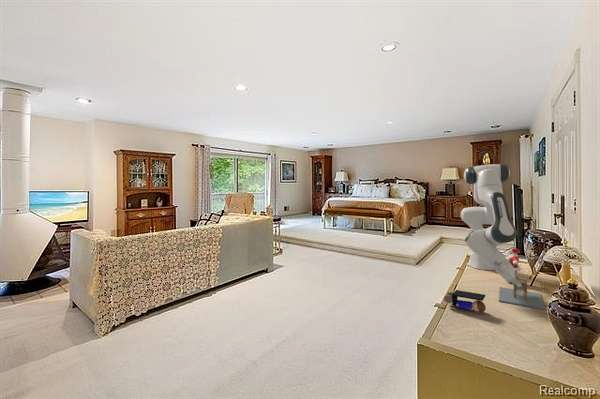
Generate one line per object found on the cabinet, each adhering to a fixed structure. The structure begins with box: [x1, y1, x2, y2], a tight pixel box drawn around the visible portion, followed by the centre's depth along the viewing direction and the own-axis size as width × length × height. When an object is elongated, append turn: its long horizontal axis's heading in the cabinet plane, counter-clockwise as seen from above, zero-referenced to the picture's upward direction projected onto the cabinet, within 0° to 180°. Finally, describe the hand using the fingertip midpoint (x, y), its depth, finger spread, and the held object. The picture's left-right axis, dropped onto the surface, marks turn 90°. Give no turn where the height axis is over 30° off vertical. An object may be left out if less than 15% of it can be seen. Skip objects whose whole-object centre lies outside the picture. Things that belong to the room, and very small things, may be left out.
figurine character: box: [443, 289, 486, 314], centre depth 122 cm, size 7×8×15 cm
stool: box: [513, 276, 529, 300], centre depth 132 cm, size 5×5×8 cm
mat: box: [498, 286, 546, 311], centre depth 132 cm, size 20×16×1 cm
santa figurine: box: [506, 247, 521, 285], centre depth 152 cm, size 25×6×19 cm, turn 144°
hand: (520, 283), depth 132 cm, fingers open, 8 cm apart
